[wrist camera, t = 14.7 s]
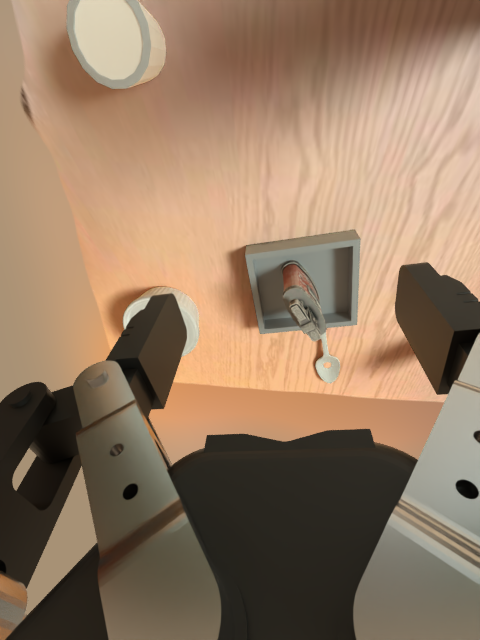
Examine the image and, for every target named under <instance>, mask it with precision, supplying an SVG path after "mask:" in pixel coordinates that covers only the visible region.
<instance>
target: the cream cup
mask: <svg viewBox="0 0 480 640" xmlns="http://www.w3.org/2000/svg"><path fill="white" fill-rule="evenodd" d="M66 28H67V32H68V35H69V39H70V43H71V47H72V50H73V52H74V54H75V55H76V57H77V59H78V61H79V62H80V64H81V66H82V68H83V69H84V70H85V71H86V72H87V73H88V74H89V75H90V76H91V77H92V78H93V79H94V80H95V81H96V82H98V83H100V84H102V85H105V86H107V87H109V88H111V89H125V88H130V87H133V86H136V85H139V84H142V83H145V82H148V81H150V80H152V79H153V78H155V77H157V76H158V75H159V73H160V71H161V70H162V68H163V67H164V63H165V58H166V44H165V37H164V35H163V32H162V30H161V28H160V26H159V23H158V22H157V21H156V20H155V19H154V17H153V16H152V15H151V14H150V13H149V12H148V11H147V10H146V9H145V7H144V6H143V5H142V4H141V3H140V2H139V1H138V0H69V2H68V5H67V27H66Z"/></svg>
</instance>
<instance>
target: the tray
mask: <svg viewBox="0 0 480 640" xmlns="http://www.w3.org/2000/svg"><path fill="white" fill-rule="evenodd" d="M245 258H246V263H247V268H248V274H249V279H250V284H251V289H252V295H253V300H254V305H255V310H256V316H257V321H258V326H259V331H260V334H266V333H277V332H287V331H298V330H301V328H300V327H299V326H298V325H297V324H296V323H295V321H294V320H293V319H292V317H291V315H290V314H289V312H288V310H287V308H286V306H285V303H284V301H283V291H284V282H283V276H282V272H281V268H282V265H283V264H284V263H285V262H286V261H289V260H296V261H298V262H299V263H300V264H301V265H302V266H303V267H304V268H305V269H306V271H307V272H308V273H309V275H310V276H311V277H312V279H313V281H314V283H315V285H316V287H317V290H318V293H319V296H320V306H321V312H322V314H323V317H324V320H325V323H326V327H327V328H330V327H341V326H351V325H357V312H358V287H359V261H360V237H359V236H358V234H357V232H356V231H355V230H350V231H343V232H336V233H329V234H322V235H315V236H308V237H301V238H294V239H287V240H280V241H273V242H266V243H260V244H253V245H246V252H245Z"/></svg>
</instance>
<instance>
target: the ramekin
mask: <svg viewBox="0 0 480 640" xmlns="http://www.w3.org/2000/svg"><path fill="white" fill-rule="evenodd" d="M169 293H172V294H174V296H175V297H176V300H177V303H178V306H179V308H180V311H181V314H182V317H183V319H184V322H185V325H186V329H187V341H186V344H185V347H184V350H183V353H182V356H185V355H186V354H188V353H190V352H191V351H192V350H193V349H194V348H195V346H196V344H197V342H198V339H199V313H198V309H197V307H196V305H195V303H194V302H193V300H192V299H191V298H190V297H189V296H187V295H186V294H185V293H183V292H181V291H180V290H177V289H174V288H171V287H155V288H152V289H150V290H148V291H146V292H145V293H144V294H142V295H141V296H140V297H139V298H137V299H135V300H134V301H133V302H131V303H130V305H129V306H128V307H127V309H126V310H125V313H124V315H123V327H124V329H126V326H127V324H128V323H129V321H130V319H131V318H132V317H133V316H134V315H136V314H137V313H138V312H139V311H140V310H143V309H145V307H146V305H147V303H148V302H149V300H150V298H151V297H152V296H153V295H161V294H169ZM182 356H181V357H182Z"/></svg>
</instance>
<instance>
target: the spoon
mask: <svg viewBox="0 0 480 640" xmlns="http://www.w3.org/2000/svg"><path fill="white" fill-rule="evenodd" d="M321 339H322V344H323V352H324V354H323V356H322V357H321V358H319V359H318V360H317V361H316V363H315V367H316V370H317V372H318V374H319V376H320V377H321V379H322V380H323V381H325V382H327V383H332V382H334V381H335V380H336V379H337V377H338V375H339V371H340V362H339V359H337V358H336V357H334V356H331V355H330V354H329V352H328V347H327V339H326V332H325V333H324V334H322V335H321ZM326 362H331V367H330V368H324V365H323V364H324V363H326Z"/></svg>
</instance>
